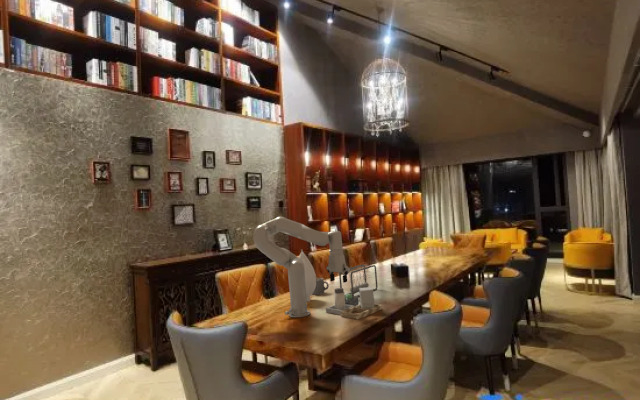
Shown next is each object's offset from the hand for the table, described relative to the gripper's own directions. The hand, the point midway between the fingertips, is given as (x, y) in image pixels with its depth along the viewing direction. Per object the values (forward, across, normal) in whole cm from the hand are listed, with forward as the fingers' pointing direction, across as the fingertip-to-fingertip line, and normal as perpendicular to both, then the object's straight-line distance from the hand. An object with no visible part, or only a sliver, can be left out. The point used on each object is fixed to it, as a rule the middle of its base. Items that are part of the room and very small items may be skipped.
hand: (338, 281), depth 237 cm
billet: (+17, 0, 0) cm, 17 cm away
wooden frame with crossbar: (+18, +13, +3) cm, 22 cm away
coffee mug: (+18, -44, +29) cm, 56 cm away
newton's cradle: (+18, -18, +41) cm, 48 cm away
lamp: (+17, -38, +9) cm, 43 cm away
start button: (+17, -3, +12) cm, 21 cm away
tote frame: (+17, 0, 0) cm, 17 cm away
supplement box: (+18, +13, +9) cm, 23 cm away
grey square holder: (+17, -3, +12) cm, 21 cm away
